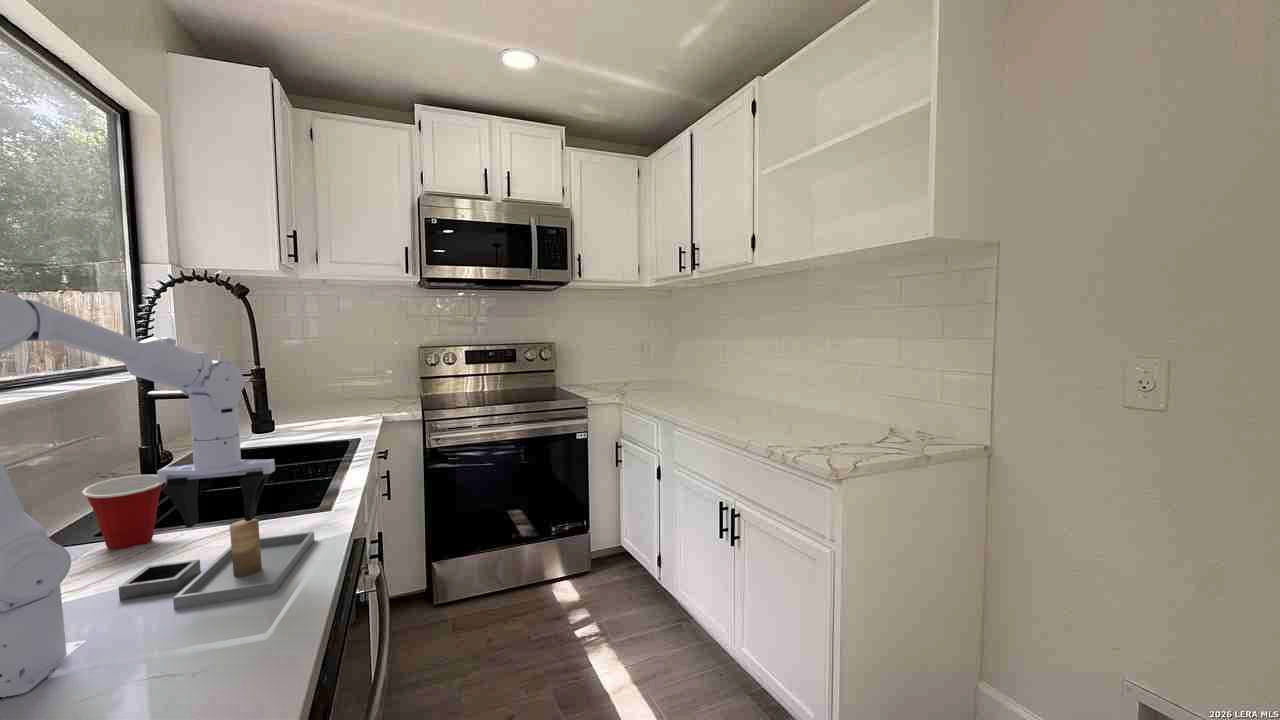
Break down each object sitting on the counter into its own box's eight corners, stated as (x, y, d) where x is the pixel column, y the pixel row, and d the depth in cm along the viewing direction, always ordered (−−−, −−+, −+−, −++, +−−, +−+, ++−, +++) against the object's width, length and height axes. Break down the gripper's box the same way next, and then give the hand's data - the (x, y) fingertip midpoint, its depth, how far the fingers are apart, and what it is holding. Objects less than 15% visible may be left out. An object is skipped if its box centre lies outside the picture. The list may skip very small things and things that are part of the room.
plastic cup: (86, 565, 86) (80, 496, 85) (88, 546, 94) (82, 483, 93) (172, 544, 94) (168, 481, 93) (167, 529, 102) (163, 470, 101)
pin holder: (177, 595, 76) (176, 579, 75) (120, 604, 73) (118, 587, 73) (200, 574, 82) (199, 559, 82) (148, 582, 80) (147, 566, 80)
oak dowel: (256, 574, 80) (253, 525, 80) (229, 578, 79) (225, 528, 78) (265, 564, 84) (261, 517, 83) (239, 568, 82) (235, 520, 82)
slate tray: (274, 597, 75) (273, 583, 75) (174, 613, 71) (173, 597, 71) (314, 543, 94) (313, 531, 94) (237, 553, 90) (236, 541, 90)
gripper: (279, 428, 85) (284, 507, 86) (173, 435, 81) (179, 518, 82) (262, 437, 78) (268, 522, 79) (146, 445, 74) (152, 535, 75)
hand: (221, 522), depth 80 cm, fingers open, 7 cm apart
